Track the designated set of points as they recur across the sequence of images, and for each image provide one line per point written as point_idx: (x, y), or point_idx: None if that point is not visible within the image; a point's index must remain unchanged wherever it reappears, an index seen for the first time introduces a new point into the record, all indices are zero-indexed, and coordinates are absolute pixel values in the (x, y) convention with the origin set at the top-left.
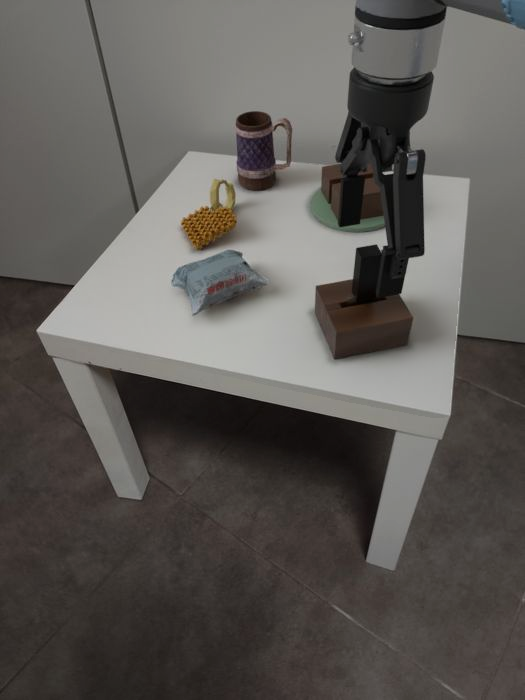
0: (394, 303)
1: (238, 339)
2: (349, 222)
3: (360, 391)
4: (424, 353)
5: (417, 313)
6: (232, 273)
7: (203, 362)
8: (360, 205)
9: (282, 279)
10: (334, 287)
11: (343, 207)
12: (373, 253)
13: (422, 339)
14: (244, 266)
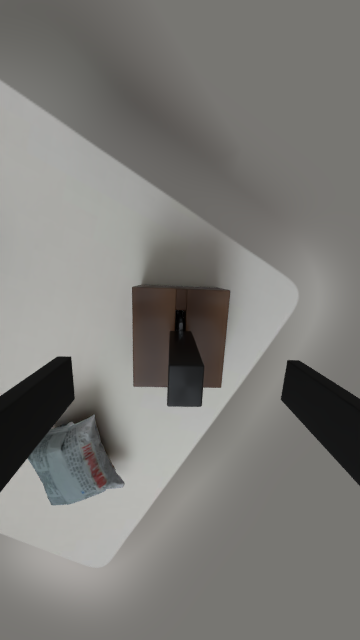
0: (197, 303)
1: (157, 439)
2: (68, 383)
3: (256, 355)
4: (234, 275)
5: (174, 253)
6: (80, 464)
7: (176, 469)
8: (39, 387)
9: (76, 382)
10: (143, 366)
11: (43, 431)
12: (196, 381)
13: (215, 267)
14: (69, 448)
